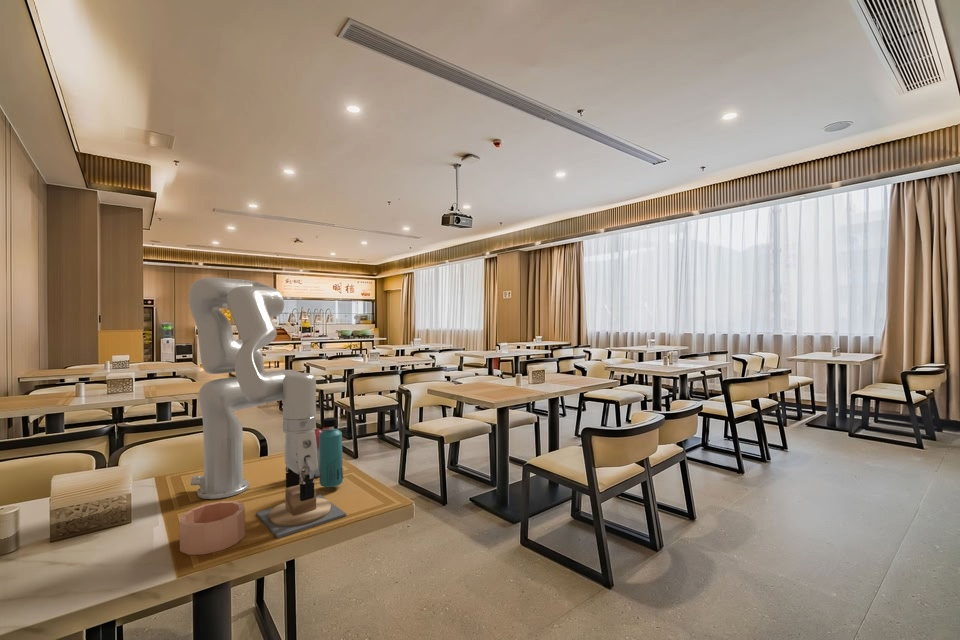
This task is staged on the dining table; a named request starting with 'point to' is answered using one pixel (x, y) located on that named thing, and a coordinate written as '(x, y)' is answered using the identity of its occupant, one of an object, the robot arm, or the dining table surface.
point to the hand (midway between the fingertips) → (299, 493)
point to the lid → (299, 509)
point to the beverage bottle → (330, 454)
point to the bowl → (212, 527)
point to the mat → (286, 530)
